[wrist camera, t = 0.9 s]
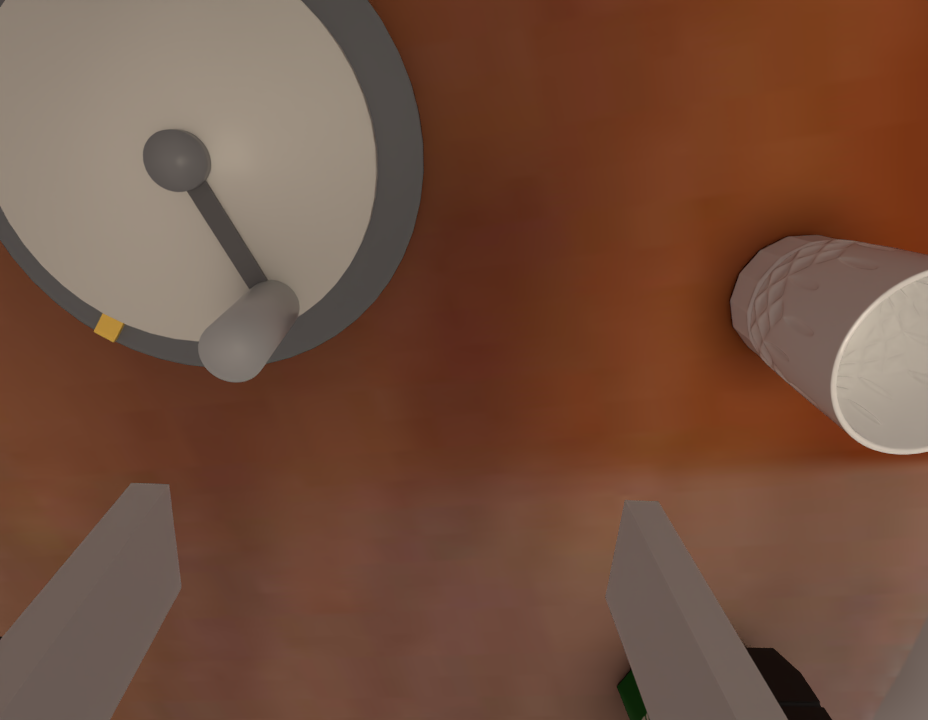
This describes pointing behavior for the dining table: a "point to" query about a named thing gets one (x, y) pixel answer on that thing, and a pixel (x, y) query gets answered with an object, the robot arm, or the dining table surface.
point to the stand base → (390, 226)
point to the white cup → (844, 332)
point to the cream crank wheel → (186, 163)
